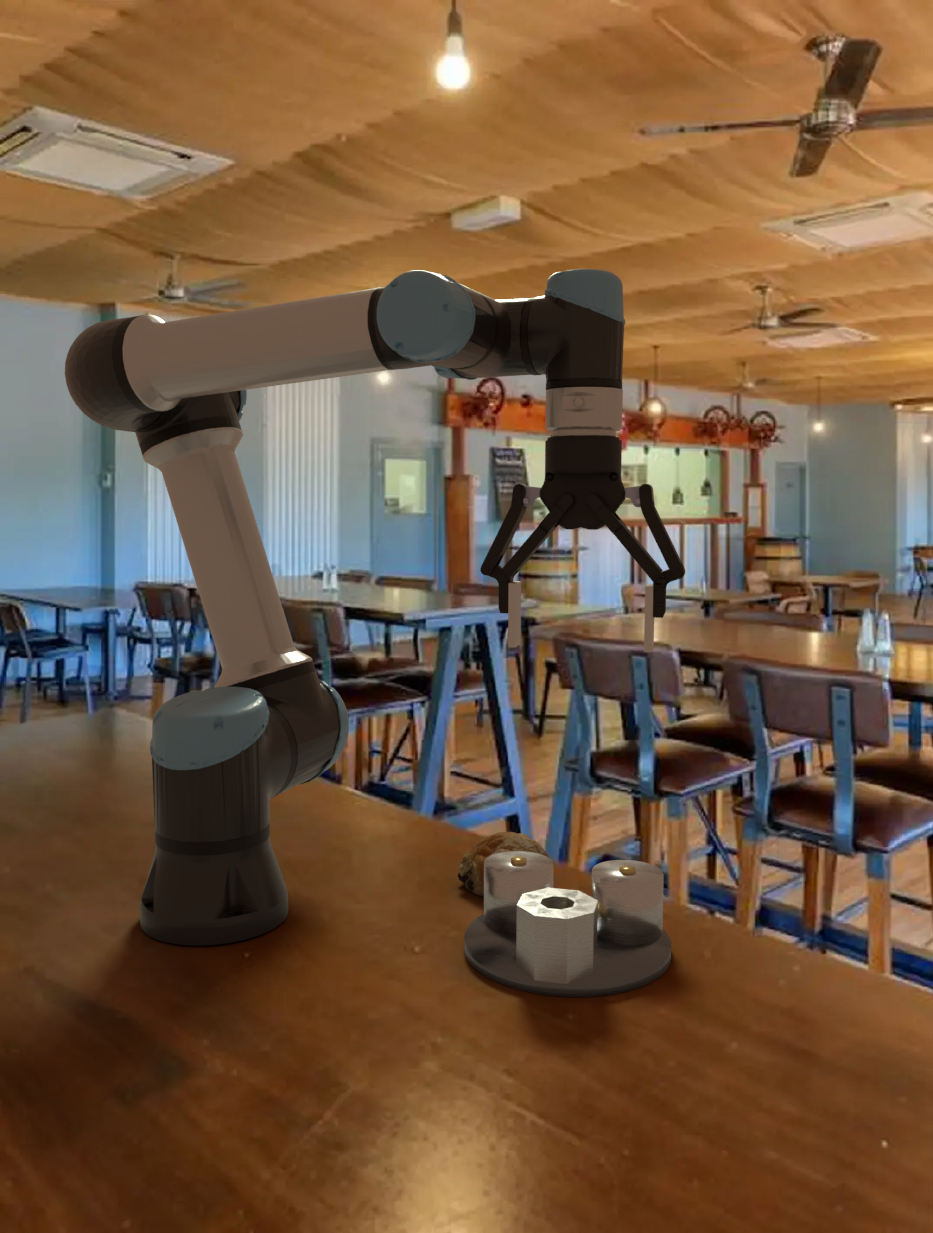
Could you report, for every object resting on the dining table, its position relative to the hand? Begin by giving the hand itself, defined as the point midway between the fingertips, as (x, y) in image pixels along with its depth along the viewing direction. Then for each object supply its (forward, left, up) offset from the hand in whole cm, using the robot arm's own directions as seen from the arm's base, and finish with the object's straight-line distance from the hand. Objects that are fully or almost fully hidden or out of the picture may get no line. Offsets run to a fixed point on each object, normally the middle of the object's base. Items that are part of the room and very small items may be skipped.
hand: (580, 648), depth 109 cm
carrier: (0, -7, -29) cm, 30 cm away
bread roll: (-10, +8, -29) cm, 32 cm away
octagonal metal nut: (0, -13, -28) cm, 31 cm away
